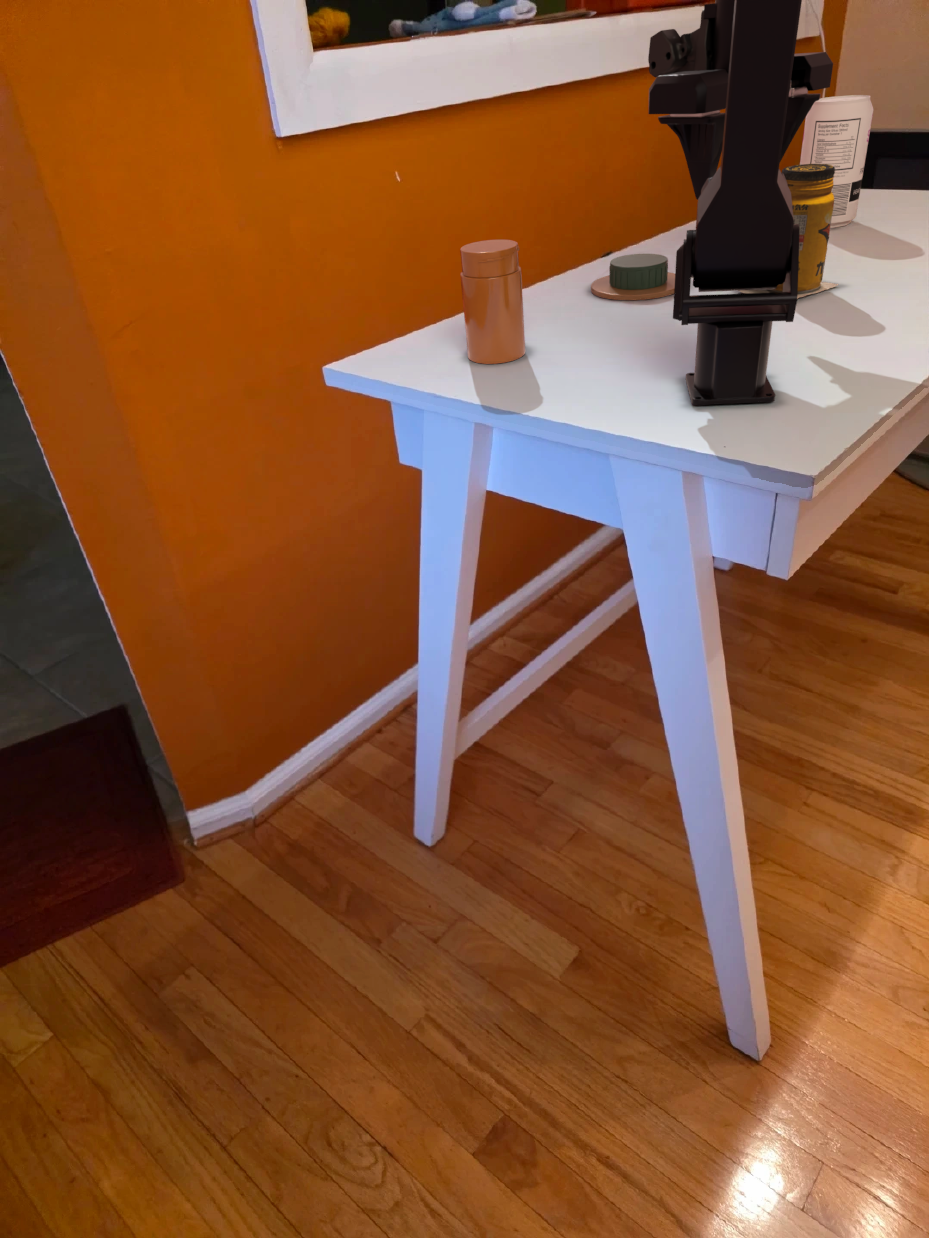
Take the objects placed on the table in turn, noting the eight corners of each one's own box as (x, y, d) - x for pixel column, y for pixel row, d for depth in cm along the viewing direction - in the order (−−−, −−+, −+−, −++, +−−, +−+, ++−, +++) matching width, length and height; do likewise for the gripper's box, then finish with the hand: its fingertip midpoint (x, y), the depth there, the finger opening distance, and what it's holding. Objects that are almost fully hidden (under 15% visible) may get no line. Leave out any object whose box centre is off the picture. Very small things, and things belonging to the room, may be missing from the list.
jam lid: (657, 272, 100) (658, 251, 99) (674, 285, 95) (675, 263, 93) (603, 279, 100) (603, 257, 99) (617, 293, 95) (617, 270, 93)
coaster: (689, 297, 93) (689, 291, 92) (590, 303, 94) (590, 297, 94) (680, 273, 102) (681, 268, 101) (591, 279, 103) (591, 274, 103)
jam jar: (527, 360, 80) (521, 249, 74) (468, 366, 80) (458, 256, 75) (523, 342, 85) (517, 236, 79) (467, 348, 85) (457, 243, 79)
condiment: (838, 286, 91) (858, 163, 84) (787, 303, 87) (803, 177, 80) (784, 276, 96) (798, 160, 89) (733, 292, 92) (744, 173, 85)
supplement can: (780, 224, 118) (794, 102, 109) (824, 214, 120) (841, 94, 112) (822, 232, 112) (841, 103, 103) (868, 221, 114) (890, 94, 106)
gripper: (741, -13, 78) (726, 171, 87) (602, 2, 70) (602, 203, 79) (849, -27, 71) (820, 176, 80) (708, -13, 62) (694, 212, 71)
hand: (733, 191), depth 78 cm, fingers open, 9 cm apart
